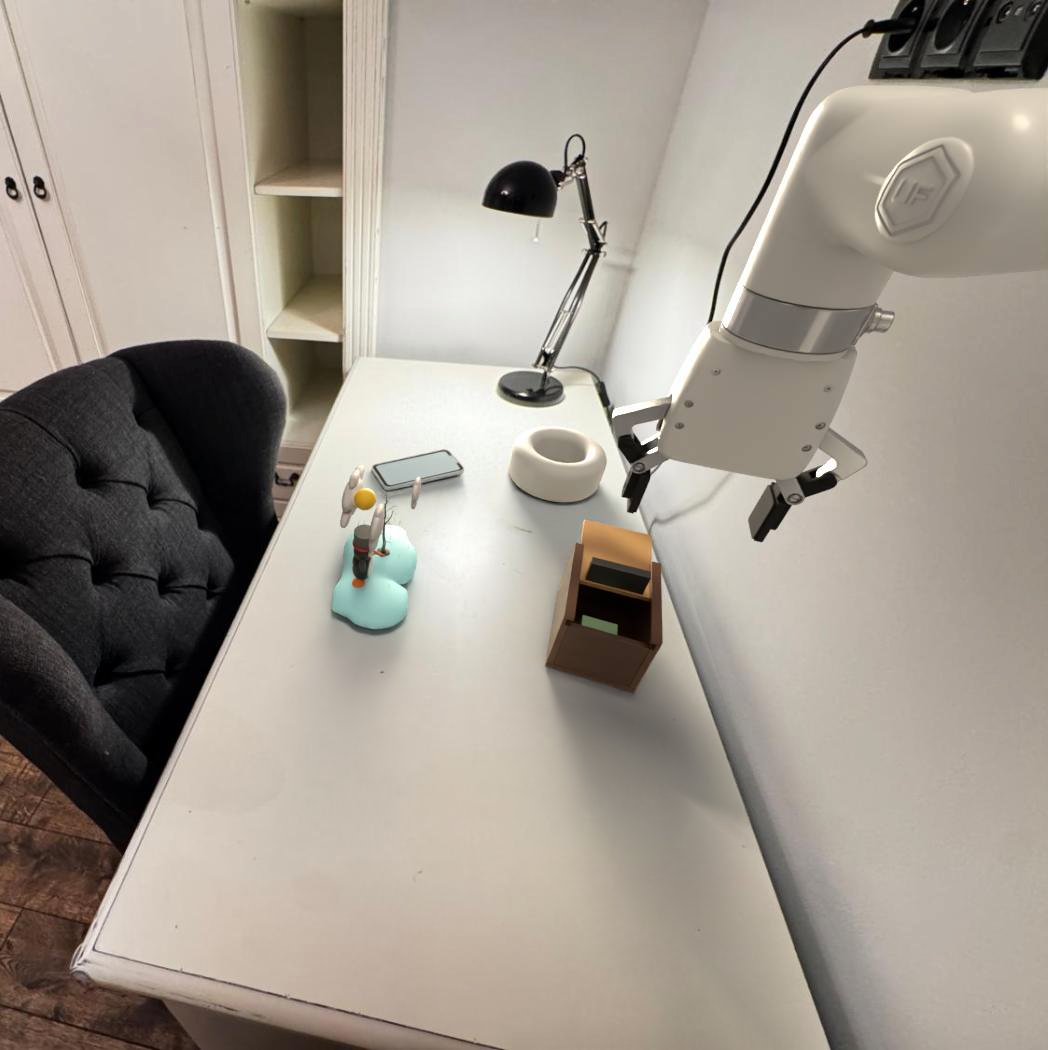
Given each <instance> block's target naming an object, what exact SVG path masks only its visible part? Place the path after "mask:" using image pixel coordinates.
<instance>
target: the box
mask: <svg viewBox="0 0 1048 1050" xmlns="http://www.w3.org/2000/svg"><path fill="white" fill-rule="evenodd" d="M583 552H584V544H580V542H576V541H575V543H574V545H573V548H572V551H571V553H570V555H569V556H570V557H569V559H568V562H567V565H566V567H565V570H564V572H563V575H562V578H561V582H560V585H559V587H558V590H557V594H556V598H555V604H554V611H553V616H552V623H551V628H550V636H549V640H548V646H547V652H546V659H545V663H544V667H548V668H551V669H554V670H557V671H559V672H560V671H561V672H564V673H567V674H570V675H573V676H576V677H579V678H583V679H586V680H589V681H593V682H596V683H598V684H602V685H605V686H608V687H612V688H615V689H619V690H622V691H624V692H628V693H632V694H634V693H635V692H636V690H637V688H638V686H639V684H640V683H641V681H642V679H644V678H643V677H644V676H645V674H646V672H647V671H648V669H649V667H650V665H651V664H652V662H653V661H654V659H655V658H656V655H657V654H658V652H659V651H660V649H661V647H662V645H663V643H664V640H663V638H664V637H663V595H662V594H663V592H662V591H663V590H662V588H663V587H662V563H660V562H657V561H651V563H650V571H651V579H650V602H648V601H644V600H640V599H637V598H633V597H629V596H625V595H622V594H618V593H614V592H610V591H607V590H603V589H599V588H595V587H591V586H588V585H584V584H580V583H579V582H580V574H581V567H582V559H583ZM582 615H585V616H589V617H592V618H596V619H599V620H603V621H606V622H610V623H614V624H617V625H618V630H617V635H615V634H612V633H608V632H605V631H601V630H598V629H594V628H591V627H587V626H584V625H580V624H579V623H580V620H581V618H582Z"/></svg>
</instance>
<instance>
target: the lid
mask: <svg viewBox="0 0 1048 1050" xmlns="http://www.w3.org/2000/svg"><path fill="white" fill-rule="evenodd" d="M652 537H653V535H652V534H647V533H643V532H640V531H635V530H631V529H626V528H623V527H618V526H614V525H611V524H605V523H601V522H597V521H593V520H588V519H584V520H583V521H582V529H581V535H580V542H579V543H580V544H584V552H583V559H582V567H581V574H580V582H579V583H580V584H584V585H588V586H591V587H595V588H599V589H603V590H607V591H610V592H614V593H618V594H622V595H625V596H629V597H633V598H637V599H640V600H644V601H648V602H650V579H651V571H650V563H651V561H652V560H653V559H652V558H653V556H652V552H653V549H652V547H653V546H652V543H653V541H652Z"/></svg>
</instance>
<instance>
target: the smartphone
mask: <svg viewBox="0 0 1048 1050" xmlns="http://www.w3.org/2000/svg"><path fill="white" fill-rule="evenodd" d="M371 472H372V474H373V475H374V477H375V478H376V480H377V481H378V482H379V484H380V486H381V487H382V489H384V490H385V491H390V490H391V491H394V490H398V489H402V488H406V487H413V484H414V482H415V479H416V478H417V477H420V478H421V484H424V483H429V482H433V481H437V480H442V479H445V478H450V477H454V476H458V475H462V474H464V472H465V466H464V465H463V464H462V463H461V462H460V461H459V459H458V458H457V457H456V456H455V455H454V454H453V453H452V452H451V451H450V450H448V449H445V448H444V449H439V450H433V451H428V452H424V453H419V454H415V455H410V456H406V457H402V458H396V459H392V460H388V461H382V462H379V463H374V464H373V465H372V466H371ZM385 486H386V487H385ZM394 488H395V489H394ZM392 489H393V490H392Z"/></svg>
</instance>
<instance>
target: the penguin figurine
mask: <svg viewBox="0 0 1048 1050" xmlns="http://www.w3.org/2000/svg"><path fill="white" fill-rule="evenodd" d="M364 475H365V466H364V465H363V463H359V464H358V465H357V466H356V467H355V469H354V471H353V472H352V473H351V475H350V477H349V480H348V482H347V483H346V485H345V487H344V490H343V492H342V498H341V509H342V513H341V515H340V520H339V526H340V527H341V528H342V529H345V528H347V526H349V523H350V520H351V518H352V516H353V515H354V514H355V512H356V510H357V509H359V510H361V511H369V510H371V509H372V508H374V506H375V504H376V502H377V496H376V494H375V491H373V490H372V489H370V488H368V487H364V481H363V479H364ZM385 487H386V486H385ZM379 489H380V490H379V491H382V490H381V488H379ZM395 490H396V489H395V488H394V490H393V489H392V490H385V493H383V495H382V498H383V499H385V503H384V504H383V503H379V504H378V505H377V507H375V510H374V512H373V515H372V518H371V522H370V525H369V524H365V523H366V521H365V520H363V524H360V520H358V522H357V526H356V527H354V529H353V531H352V532H351V533H350V534H349V536H348V538H347V539H346V542H345V543H344V546H343V553H342V558H343V560H342V561H343V562H342V571H341V576H340V579H339V581H338V583H336V585H335V587H333V591H332V598H331V605H330V607H331V608H330V609H331V611H332V612H335V613H336V614H338V615H341V616H343V617H344V618H347V619H348V620H349V621H351V622H352V623H353V624H354V625H357V626H359V627H361V628H364V629H365V628H366V629H370V630H383V629H388V628H391V627H394V626H396V625H397V624H399V623H400V622H403V620H404V619H405V618H406V616H407V613H408V605H409V603H408V602H409V601H408V600H409V599H408V598H409V597H408V596H409V595H408V593H409V592H408V590H407V589H406V588H405V587H404V586H402V585H405V584H407V583H408V582H410V581H411V579H412V577H413V576H414V574H415V572H416V571H415V570H416V569H417V568H416V567H417V563H418V562H417V561H418V556H417V555H418V554H417V551H416V548H415V546H414V545H413V544H412V542H411V541H410V540H409V536H408V533H407V531H406V530H405V529H404V528H402V527H401V526H397V525H392V524H395V520H393V522H392V524H391V519H392V517H393V514H394V510H392V511H391V515H390V516H388V517H387V512H388V511H389V509H387V505H388V504H393V503H391V502H389V501H390V499H391V498H392V496H390V498H388V493H389V492H391V491H395ZM421 490H422V483H421V478H420V477H417V478H416V479H415V482H414V484H413V485H412V488H411V497H410V498H411V500H410V508H411V510H415V509H416V507H417V504H418V501H419V499H420V495H421ZM395 507H397V506H395V505H394V506H392V507H391V509H392V508H395ZM396 516H397V514H395V517H396ZM395 517H393V519H395ZM399 521H401V519H400V520H399ZM399 525H401V522H399Z"/></svg>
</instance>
